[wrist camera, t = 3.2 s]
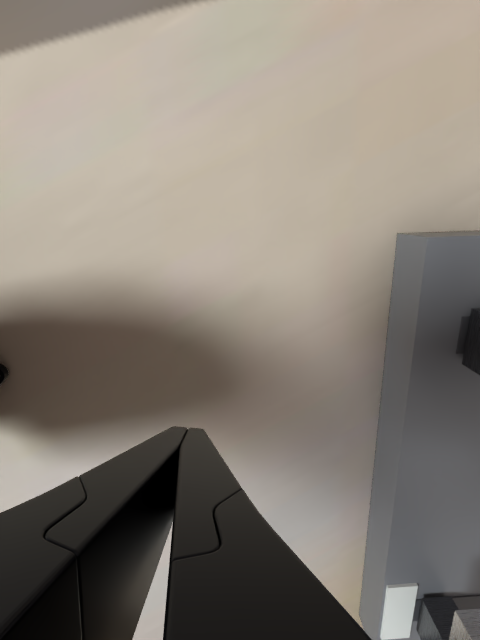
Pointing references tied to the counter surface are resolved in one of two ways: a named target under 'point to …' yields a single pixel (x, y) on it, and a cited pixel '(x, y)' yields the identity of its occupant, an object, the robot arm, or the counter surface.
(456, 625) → the switch
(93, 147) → the counter surface
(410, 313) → the switch panel
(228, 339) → the counter surface
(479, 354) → the switch
